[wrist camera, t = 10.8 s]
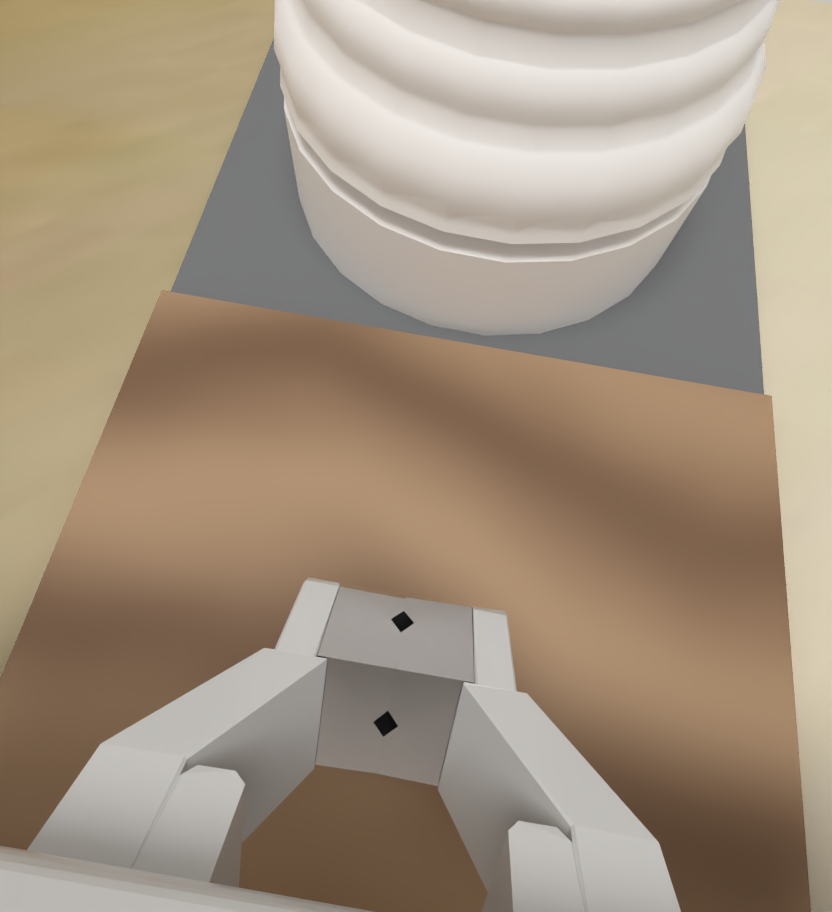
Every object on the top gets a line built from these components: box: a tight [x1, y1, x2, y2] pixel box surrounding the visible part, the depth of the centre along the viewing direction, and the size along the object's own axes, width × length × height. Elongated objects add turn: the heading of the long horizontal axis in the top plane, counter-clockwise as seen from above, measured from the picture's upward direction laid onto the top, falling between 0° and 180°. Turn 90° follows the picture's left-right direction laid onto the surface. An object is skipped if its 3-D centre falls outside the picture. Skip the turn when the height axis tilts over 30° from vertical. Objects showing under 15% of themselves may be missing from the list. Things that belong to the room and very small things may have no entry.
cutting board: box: [0, 290, 811, 912], centre depth 13 cm, size 20×18×1 cm
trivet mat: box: [171, 39, 764, 395], centre depth 20 cm, size 16×18×1 cm
